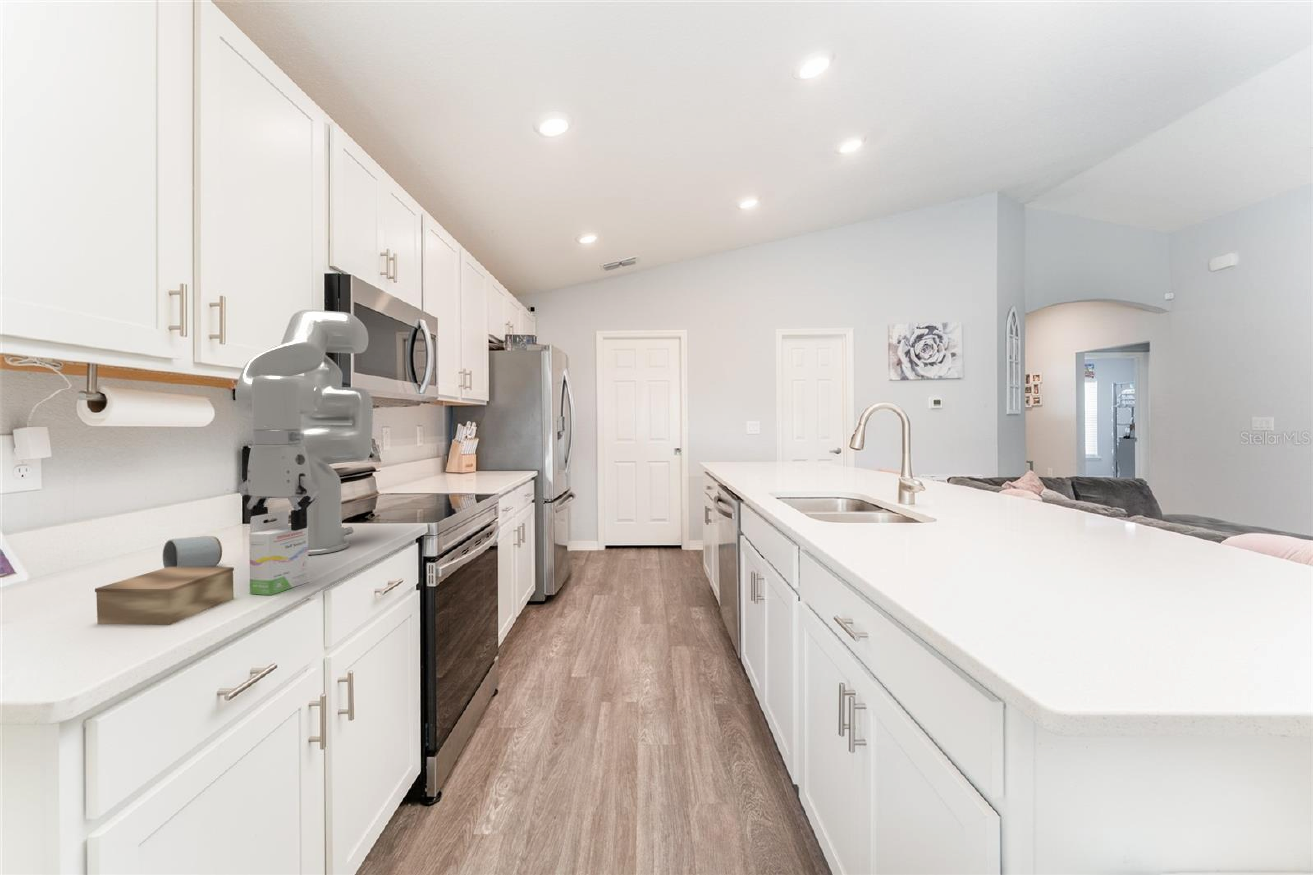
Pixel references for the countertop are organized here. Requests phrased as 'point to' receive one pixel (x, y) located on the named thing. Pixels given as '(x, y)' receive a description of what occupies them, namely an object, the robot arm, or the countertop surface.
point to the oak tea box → (164, 595)
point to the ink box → (276, 554)
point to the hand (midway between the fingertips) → (279, 528)
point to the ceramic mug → (192, 552)
